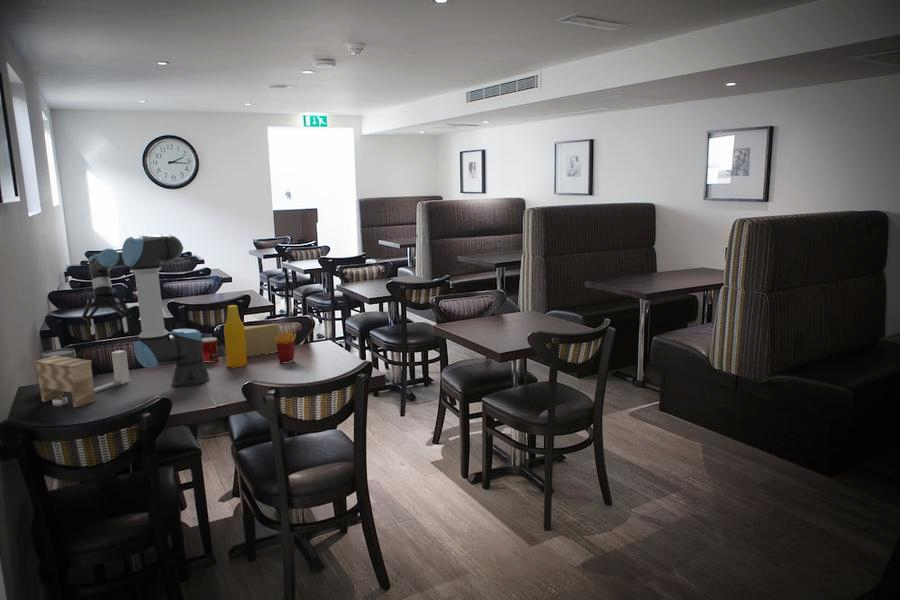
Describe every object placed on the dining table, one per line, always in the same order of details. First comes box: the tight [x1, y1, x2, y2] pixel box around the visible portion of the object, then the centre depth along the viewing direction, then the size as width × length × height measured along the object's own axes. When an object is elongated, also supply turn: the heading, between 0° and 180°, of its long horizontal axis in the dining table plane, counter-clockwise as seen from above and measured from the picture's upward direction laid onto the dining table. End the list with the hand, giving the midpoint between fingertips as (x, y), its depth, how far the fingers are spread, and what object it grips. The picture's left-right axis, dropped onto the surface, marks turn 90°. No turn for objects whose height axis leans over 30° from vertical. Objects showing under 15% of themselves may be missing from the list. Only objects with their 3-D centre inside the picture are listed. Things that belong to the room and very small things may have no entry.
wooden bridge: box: [34, 356, 96, 408], centre depth 241 cm, size 21×9×17 cm, turn 68°
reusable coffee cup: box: [41, 348, 77, 360], centre depth 261 cm, size 13×13×15 cm
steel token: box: [51, 396, 69, 407], centre depth 239 cm, size 5×5×2 cm
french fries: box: [275, 330, 297, 363], centre depth 294 cm, size 9×8×15 cm
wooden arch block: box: [94, 349, 131, 394], centre depth 257 cm, size 20×4×14 cm, turn 158°
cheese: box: [244, 323, 281, 358], centre depth 307 cm, size 22×10×15 cm, turn 112°
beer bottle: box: [223, 304, 248, 369], centre depth 287 cm, size 9×9×29 cm
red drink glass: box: [201, 336, 220, 362], centre depth 297 cm, size 8×8×11 cm
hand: (110, 332), depth 271 cm, fingers open, 13 cm apart
